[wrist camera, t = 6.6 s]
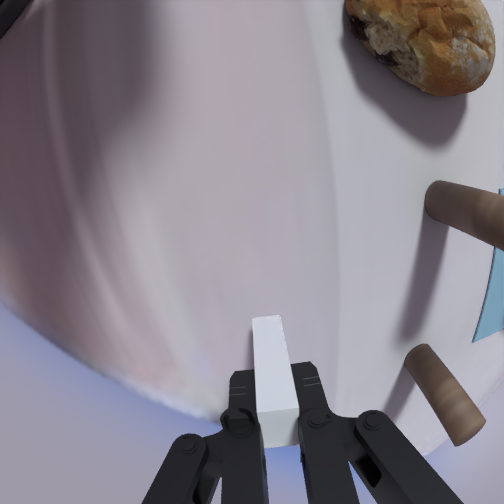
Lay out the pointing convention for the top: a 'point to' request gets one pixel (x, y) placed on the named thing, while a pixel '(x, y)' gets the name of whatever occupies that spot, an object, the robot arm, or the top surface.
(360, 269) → the top surface
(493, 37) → the bread roll
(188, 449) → the robot arm
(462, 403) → the post
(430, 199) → the post
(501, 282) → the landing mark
